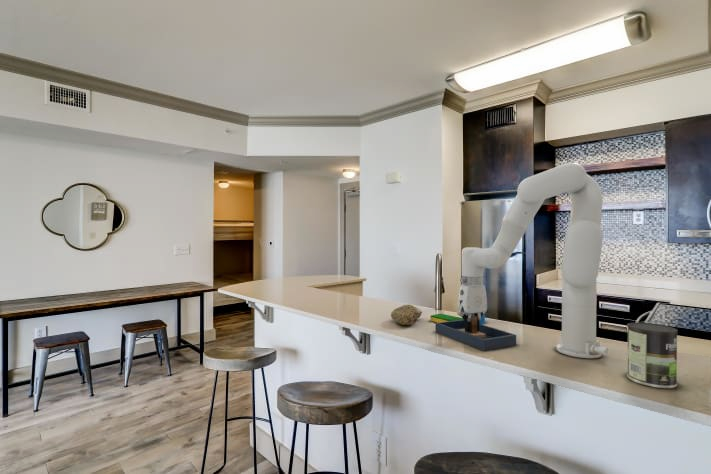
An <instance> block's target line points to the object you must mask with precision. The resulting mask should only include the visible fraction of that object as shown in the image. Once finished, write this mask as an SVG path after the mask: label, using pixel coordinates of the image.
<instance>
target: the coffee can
mask: <svg viewBox="0 0 711 474" xmlns="http://www.w3.org/2000/svg"><path fill="white" fill-rule="evenodd" d="M626 326H627V375H626V377H627V378H628V379H629V380H630V381H632V382H634V383H637V384H639V385H643V386H647V387H651V388H657V389H674V388H675V389H676V388H677V387H678V384H677V378H678V377H677V376H678V375H677V374H678V367H677V366H678V333H679V330H678V329H677V328H674V327H672V326H669V325H664V324H659V323H651V322H639V321H637V322H629V323H627V324H626Z"/></svg>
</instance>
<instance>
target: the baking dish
mask: <svg viewBox="0 0 711 474" xmlns="http://www.w3.org/2000/svg"><path fill="white" fill-rule="evenodd" d="M460 329H465V320H455V321H448V322H440V323H437V322H435V333H436V334H438V335H441V336H444V337H447V338H449V339H452V340H455V341H457V342H460V343H462V344H465V345H467V346H469V347H472V348H476V349H478V350H481V351H484V352H487V351H492V350H497V349H503V348H508V347H514V346H517V334H514V333H511V332H508V331H505V330H501V329H498V328H495V327H491V326H488V325H485V324H479V331H478V332H481V333H484V334H486V338H484V339H482V338H479V337H476V336H474V335H471V334H468V333H465V332H462V331H459V330H460Z"/></svg>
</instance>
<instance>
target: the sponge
mask: <svg viewBox="0 0 711 474" xmlns="http://www.w3.org/2000/svg"><path fill="white" fill-rule="evenodd" d="M422 314H423V311H422V310H421V309H420V308H419V307H417V306H414V305H412V304H403V305H401V306H399V307H396V308H394V309H393V311H391V313H390V317H391V319H392V320H393V321H394V322H395V323H397V324H398V325H400V326H401V325H402V326H409V325H411V324H413V323H414V322H415V321H416V319H419V318H420V317H421V316H422Z"/></svg>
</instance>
